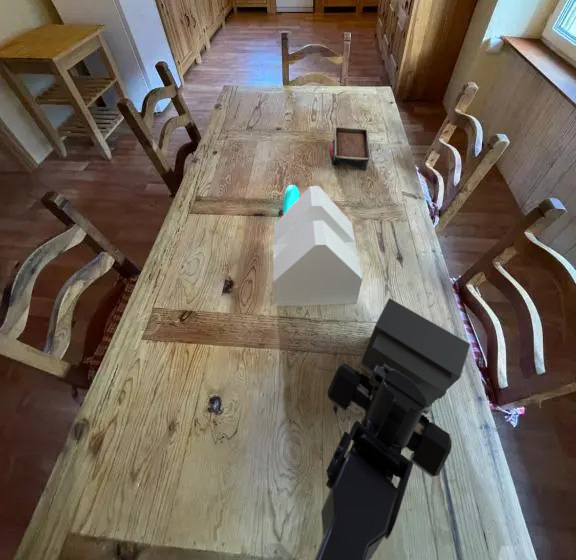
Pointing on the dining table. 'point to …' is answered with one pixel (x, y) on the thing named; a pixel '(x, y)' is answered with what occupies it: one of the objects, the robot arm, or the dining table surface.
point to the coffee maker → (415, 351)
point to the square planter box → (350, 147)
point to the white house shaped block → (315, 254)
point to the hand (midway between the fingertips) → (392, 391)
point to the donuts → (290, 197)
